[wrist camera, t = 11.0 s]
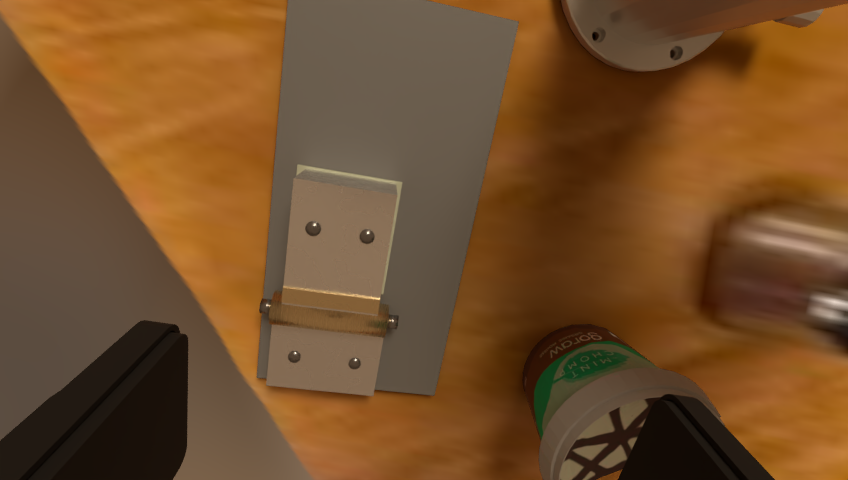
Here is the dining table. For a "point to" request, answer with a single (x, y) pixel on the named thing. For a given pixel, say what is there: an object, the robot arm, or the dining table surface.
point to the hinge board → (393, 149)
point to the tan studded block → (338, 241)
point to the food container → (593, 400)
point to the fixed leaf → (325, 347)
